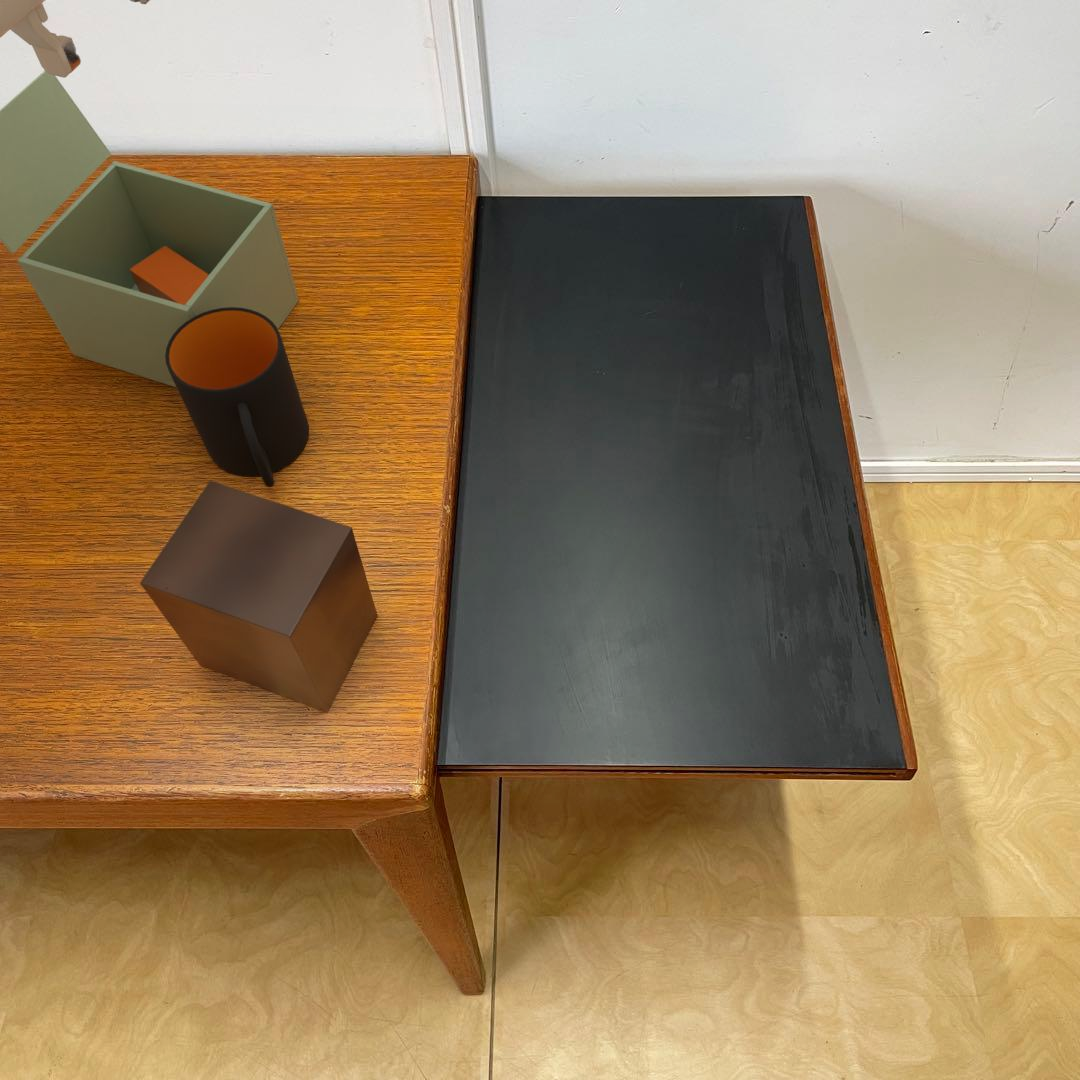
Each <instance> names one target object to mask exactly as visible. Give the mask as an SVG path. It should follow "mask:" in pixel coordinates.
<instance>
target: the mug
mask: <svg viewBox="0 0 1080 1080" xmlns="http://www.w3.org/2000/svg"><path fill="white" fill-rule="evenodd" d="M165 360H166V365H167V368H168V370H169V372H170V375H171V377H172V379H173V381H174V383H175V385H176V387H177V388H176V387H175V388H176V389H177V392H178V393H179V394H178V395H180V398H181V399H182V402H183V404H184V406H185V409H186V410H187V412H188V414H189V416H190V418H191V421H192V423H193V425H194V427H195V430H196V431H197V433H198V435H199V437H200V439H201V441H202V444H203V445H204V448H205V450H206V451H207V455H208V456H209V458H210V459H211V460H212V462H213V463H214V464H215V465H216V466H217V467H218V468H220V469H222V470H223V471H225V473H226V472H227V473H229V474H232V475H234V476H240V477H249V478H254V477H261V479H262V482H263V484H264V486H266V488H273V487H274V485H275V477H274V475H273V473H277V472H279V471H281V470H283V469H285V468H286V467H288V466H289V465H290V464H292V463H293V462H294V461H295V460H296V459H297V458H298V457H299V456H300V455H301V453H302V452H303V451H304V449H305V447H306V446H307V443H308V441H309V440H308V439H309V436H310V427H309V421H308V418H307V416H306V412H305V409H304V405H303V403H302V399H301V396H300V392H299V389H298V386H297V383H296V380H295V376H294V374H293V370H292V367H291V364H290V360H289V357H288V355H287V352H286V347H285V344H284V342H283V338H282V336H281V333H280V330H279V329H278V328H277V327H276V326H275V324H274V323H273V322H272V321H271V320H270V319H269V318H267V317H266V316H264V315H263V314H261V313H259V312H256V311H253V310H250V309H245V308H237V307H227V308H219V309H213V310H210V311H207V312H203V313H201V314H199V315H197V316H195V317H193V318H191V319H190V320H188V321H186V322H185V323H184V324H183V325H181V326H180V327H179V328H178V329H177V330H176V332H175V333H174V334H173V335H172V337H171V339H170V340H169V342H168V345H167V348H166V353H165Z"/></svg>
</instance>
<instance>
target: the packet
mask: <svg viewBox="0 0 1080 1080" xmlns="http://www.w3.org/2000/svg"><path fill="white" fill-rule="evenodd" d="M130 272H131V274H132V276H133V278H134V280H135V282H136V285H137V287H138V289H139V291H140V292H141V293H145V294H148V295H152V296H155V297H158V298H162V299H165V300H168V301H172V302H175V303H178V304H182V305H185V304H186V303H187V302H188V301H189V299H190V298H191V297H192V296H193V294H194V293H195V292H196V291H197V289H198V288H199V287H200V286H201V284H202V283H203V282H204V281H205V280H206V278H207V277H208V276H209V274H207V273H206V272H204V271H203V270H201V269H200V268H198V267H197V266H195V265H194V264H192V263H191V262H189V261H188V260H186V259H185V258H183V257H182V256H180V255H179V254H177V253H176V252H174V251H173V250H171V249H170V248H168V247H167V246H164V247H162V248H161V249H159V250H158V251H156V252H155V253H153V254H152V255H150V256H149V257H147V258H146V259H144V260H143V261H141V262H140V263H138V264H137V265H135V266H134V267H132V268H131V269H130Z"/></svg>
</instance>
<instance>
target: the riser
mask: <svg viewBox="0 0 1080 1080" xmlns="http://www.w3.org/2000/svg"><path fill="white" fill-rule="evenodd" d="M139 584H140V585H141V587H142V588H143V590H144V591H145V592H146V594H147V595H148V597H149V598H150V599H151V601H152V602H153V603H154V604H155V606H156V607H157V609H158V610H159V612H160V613H161V615H162V616H163V617H164V618H165V619H166V621H167V622H168V623H169V625H170V626H171V628H172V629H173V631H174V632H175V633H176V634H177V636H178V638H180V641H182V643H183V644H184V646H185V648H187V650H188V651H189V653H190V654H191V655H192V657H193V658H194V659H195V660H196V662H197V663H198V665H199V666H201V667H203V668H206V669H209V670H212V671H214V672H217V673H220V674H223V675H225V676H227V677H229V678H233V679H236V680H238V681H241V682H243V683H246V684H249V685H252V686H255V687H257V688H260V689H262V690H265V691H268V692H271V693H273V694H276V695H279V696H281V697H284V698H287V699H289V700H292V701H295V702H298V703H300V704H302V705H306V706H309V707H311V708H313V709H317V710H319V711H322V712H324V713H329V710H330V708H331V706H332V704H333V703H334V701H335V699H336V697H337V695H338V693H339V691H340V689H341V687H342V685H343V683H344V681H345V679H346V678H347V676H348V674H349V671H350V670H351V667H352V666H353V664H354V662H355V661H356V658H357V656H358V654H359V653H360V650H361V648H362V646H363V644H365V641H366V639H367V637H368V635H369V633H370V631H371V629H372V627H373V626H374V623H375V622H376V619H377V618H378V612H377V608H376V605H375V601H374V599H373V595H372V592H371V587H370V584H369V581H368V577H367V575H366V571H365V568H364V565H363V561H362V558H361V554H360V550H359V547H358V543H357V541H356V537H355V534H354V531H353V528H352V527H351V526H349V525H346V524H343V523H340V522H337V521H333V520H331V519H329V518H325V517H322V516H319V515H316V514H313V513H309V512H307V511H304V510H301V509H298V508H294V507H291V506H289V505H286V504H283V503H280V502H277V501H273V500H271V499H267V498H264V497H262V496H258V495H255V494H252V493H249V492H246V491H244V490H242V489H241V490H240V489H237V488H235V487H232V486H228V485H226V484H222V483H219V482H217V481H213V480H209V481H208V483H207V484H206V485H205V487H204V488H203V490H202V491H201V493H200V494H199V496H198V497H197V499H196V500H195V501H194V503H193V505H192V506H191V507H190V509H189V510H188V511H187V513H186V515H185V516H184V517H183V519H182V521H181V522H180V524H179V525H178V526H177V528H176V529H175V531H174V532H173V534H172V535H171V537H170V538H169V540H168V541H167V543H165V545H164V547H163V548H162V550H161V551H160V553H159V554H158V555H157V557H156V558H155V560H154V562H153V563H152V564H151V566H149V568H148V570H147V572H146V573H145V574H144V576H143V577H142V579H141V580H140V583H139Z"/></svg>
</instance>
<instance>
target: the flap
mask: <svg viewBox="0 0 1080 1080" xmlns="http://www.w3.org/2000/svg"><path fill="white" fill-rule="evenodd" d="M111 155H112V153H111V151H110V150H109V148H108V147H107V146H106V144H105V142H104V141H103V140H102V139H101V137H100V136H99V135H98V133H97V132H96V130H95V129H94V128H93V126H92V125H91V124H90V122H89V121H88V119H87V118H86V116H85V115H84V113H83V112H82V111H81V109H80V108H79V106H78V105H77V103H75V101H74V100H73V98H72V97H71V95H70V94H69V93H68V91H67V90H66V89H65V87H64V85H63V84H62V83H61V81H60V80H59V79H58V77H57V76H55V75H51V74H49V73H47V72H46V71H45V70H44V71H43V72H41V73H40V74H39V75H38V76H37V77H35V78H34V79H33V80H32V81H31V82H30V83H29V84H27V86H25V87H24V88H23V89H22V90H21V91H20V92H19V93H18V94H16V95H15V96H14V97H13V98H12V99H11V100H9V102H8V103H6V104H5V105H4V106H3V107H1V109H0V242H1V243H2V244H3V245H4V246H5V248H6V249H7V250H8V251H9V252H10V253H11V254H15V253H16V252H17V251H18V249H20V248H21V247H22V246H23V245H24V244H25V243H26V241H27V240H28V239H29V238H30V237H32V236H33V235H34V234H35V232H36V231H37V230H38V229H39V228H40V227H41V226H42V225H43V224H44V223H45V222H46V221H48V220H49V218H50V217H51V216H52V215H53V214H54V213H55V212H56V211H58V209H60V207H61V206H63V204H64V203H65V202H66V201H67V200H68V199H69V198H70V197H71V196H72V195H73V194H74V193H75V192H76V191H77V190H78V189H79V188H80V187H81V186H82V185H83V184H84V183H85V182H86V181H87V180H88V179H89V177H90V176H91V175H92V174H94V172H96V171H97V169H98V168H100V166H102V164H103V163H104V162H105V161H107V159H108V158H110V156H111Z"/></svg>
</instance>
